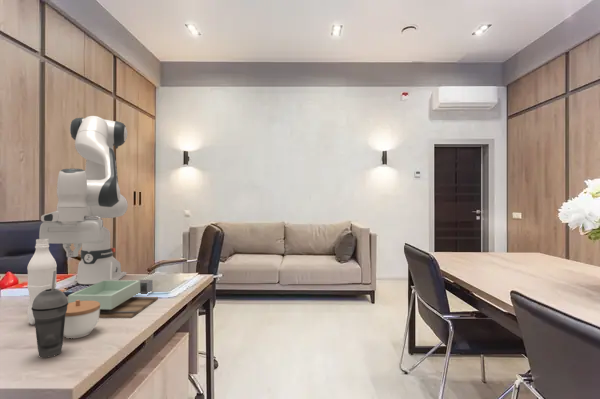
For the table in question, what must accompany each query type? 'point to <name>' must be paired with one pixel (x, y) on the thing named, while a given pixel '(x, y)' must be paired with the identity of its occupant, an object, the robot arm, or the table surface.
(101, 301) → the mint green tray
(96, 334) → the table surface
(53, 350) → the beverage cup
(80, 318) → the lidded jar
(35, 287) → the water bottle
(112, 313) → the track
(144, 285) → the metal block
